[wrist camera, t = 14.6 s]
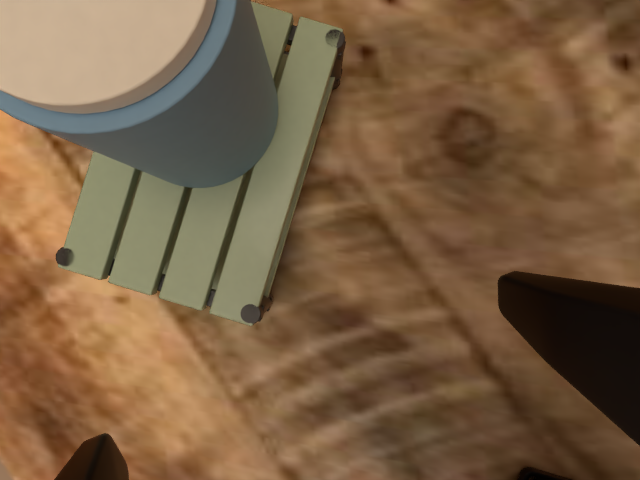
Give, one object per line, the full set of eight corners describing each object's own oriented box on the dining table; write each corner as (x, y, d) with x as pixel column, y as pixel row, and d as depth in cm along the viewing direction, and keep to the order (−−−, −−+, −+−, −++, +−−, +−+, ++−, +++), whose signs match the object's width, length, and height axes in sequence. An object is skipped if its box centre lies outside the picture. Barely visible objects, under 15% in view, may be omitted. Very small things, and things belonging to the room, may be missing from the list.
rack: (342, 74, 22) (348, 30, 17) (270, 310, 21) (256, 328, 17) (181, 26, 22) (144, -32, 17) (108, 261, 21) (52, 265, 17)
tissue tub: (264, 18, 17) (196, -255, 8) (290, 173, 17) (254, 86, 8) (108, 45, 17) (-147, -196, 8) (134, 200, 17) (-93, 146, 8)
